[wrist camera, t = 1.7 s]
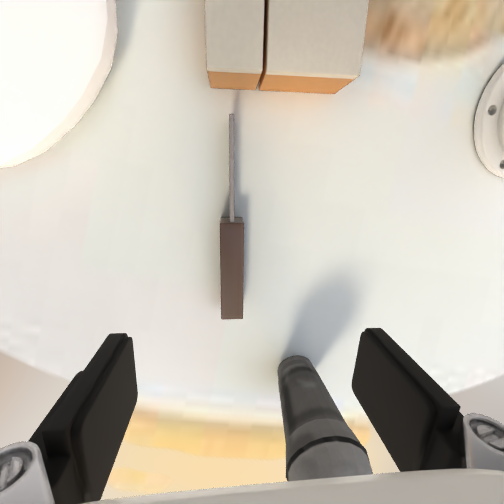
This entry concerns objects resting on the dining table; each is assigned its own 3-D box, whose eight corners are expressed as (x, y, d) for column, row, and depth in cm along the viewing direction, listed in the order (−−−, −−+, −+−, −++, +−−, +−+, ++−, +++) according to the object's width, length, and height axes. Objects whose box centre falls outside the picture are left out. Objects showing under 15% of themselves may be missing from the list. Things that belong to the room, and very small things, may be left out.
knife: (243, 120, 24) (245, 114, 22) (241, 304, 30) (242, 318, 27) (219, 119, 24) (218, 113, 21) (222, 305, 30) (221, 319, 27)
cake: (345, -15, 22) (377, -66, 17) (334, 94, 24) (360, 76, 20) (261, -22, 21) (271, -77, 17) (259, 90, 24) (266, 70, 19)
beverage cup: (296, 335, 32) (396, 581, 13) (334, 367, 34) (470, 620, 15) (254, 373, 33) (290, 649, 14) (294, 402, 35) (372, 678, 16)
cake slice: (258, -23, 21) (266, -77, 17) (255, 90, 24) (262, 70, 19) (208, -27, 21) (202, -84, 16) (210, 88, 23) (206, 67, 19)
